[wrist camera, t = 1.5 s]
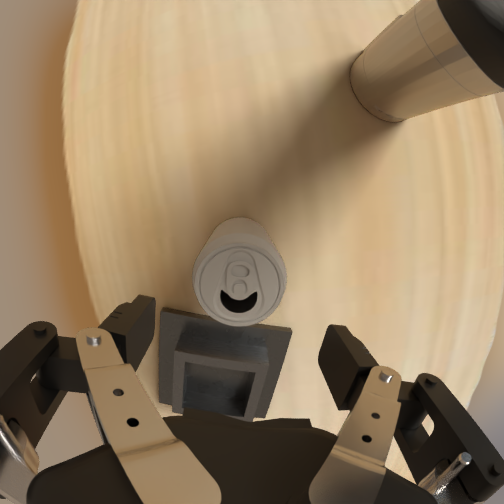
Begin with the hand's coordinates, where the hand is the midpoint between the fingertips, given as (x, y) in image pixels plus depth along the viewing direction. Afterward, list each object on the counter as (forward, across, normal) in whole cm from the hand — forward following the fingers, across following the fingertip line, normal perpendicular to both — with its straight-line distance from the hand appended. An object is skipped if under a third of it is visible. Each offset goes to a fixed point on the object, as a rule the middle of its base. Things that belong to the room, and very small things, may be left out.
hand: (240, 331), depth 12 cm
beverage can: (+17, 0, 0) cm, 17 cm away
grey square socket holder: (+17, 0, +16) cm, 23 cm away
